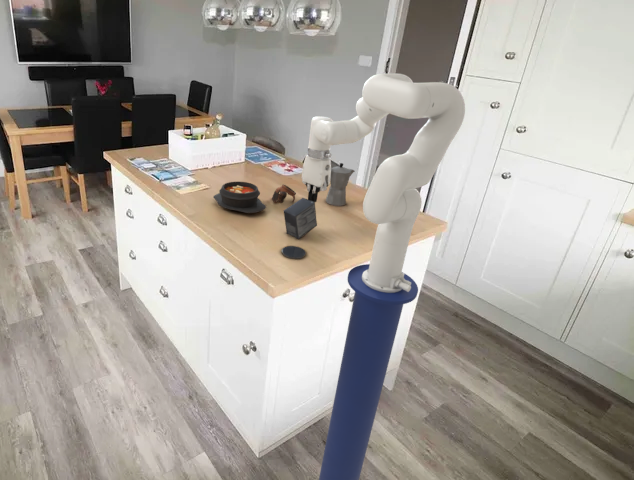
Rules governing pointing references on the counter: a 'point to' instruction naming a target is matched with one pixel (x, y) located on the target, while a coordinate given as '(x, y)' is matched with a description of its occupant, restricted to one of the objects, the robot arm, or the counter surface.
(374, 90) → the robot arm
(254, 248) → the counter surface
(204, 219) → the counter surface
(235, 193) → the casserole
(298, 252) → the slate coaster
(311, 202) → the small box
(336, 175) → the coffeepot
